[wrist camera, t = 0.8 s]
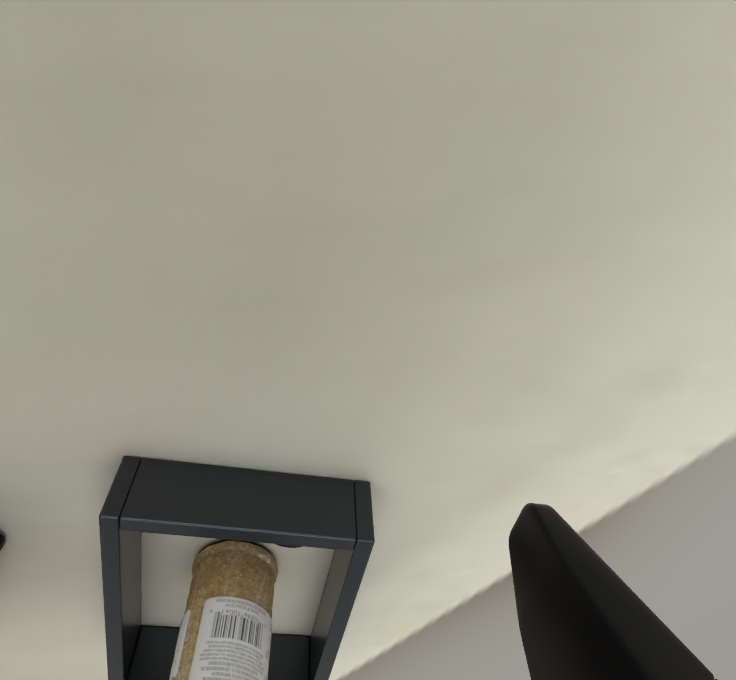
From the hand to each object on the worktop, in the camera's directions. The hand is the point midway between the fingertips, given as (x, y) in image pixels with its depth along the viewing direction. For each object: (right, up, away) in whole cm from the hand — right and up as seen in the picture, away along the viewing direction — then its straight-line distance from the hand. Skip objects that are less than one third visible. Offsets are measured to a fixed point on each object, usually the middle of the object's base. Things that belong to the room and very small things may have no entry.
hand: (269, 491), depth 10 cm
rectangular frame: (-5, -10, +22) cm, 24 cm away
